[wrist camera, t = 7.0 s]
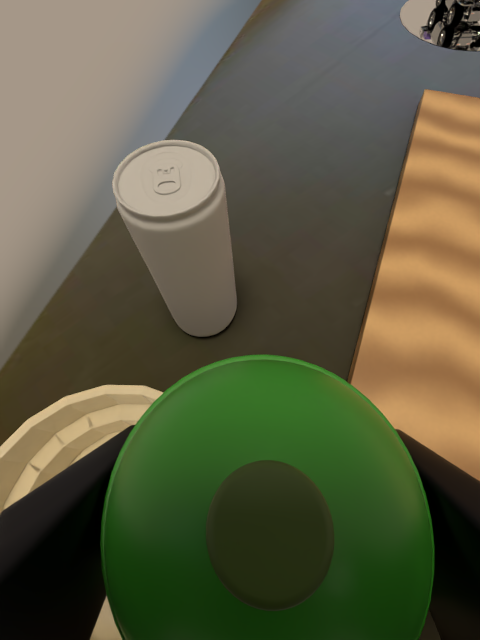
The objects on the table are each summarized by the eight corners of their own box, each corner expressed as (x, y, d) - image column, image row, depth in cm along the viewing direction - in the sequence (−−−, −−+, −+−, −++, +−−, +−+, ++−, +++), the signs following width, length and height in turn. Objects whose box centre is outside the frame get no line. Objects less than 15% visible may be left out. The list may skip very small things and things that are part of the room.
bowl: (282, 626, 17) (291, 677, 12) (16, 724, 16) (-81, 819, 11) (217, 381, 22) (207, 355, 18) (19, 440, 21) (-45, 427, 17)
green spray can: (347, 581, 12) (1165, 1418, 1) (188, 593, 12) (-411, 1482, 1) (319, 418, 15) (496, 212, 4) (188, 429, 15) (-8, 256, 4)
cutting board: (553, 645, 16) (580, 659, 15) (307, 535, 18) (311, 538, 17) (549, 126, 32) (562, 111, 31) (418, 104, 34) (425, 88, 33)
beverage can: (233, 278, 26) (215, 130, 15) (242, 334, 24) (230, 208, 13) (170, 287, 26) (109, 145, 15) (174, 345, 24) (106, 227, 13)
